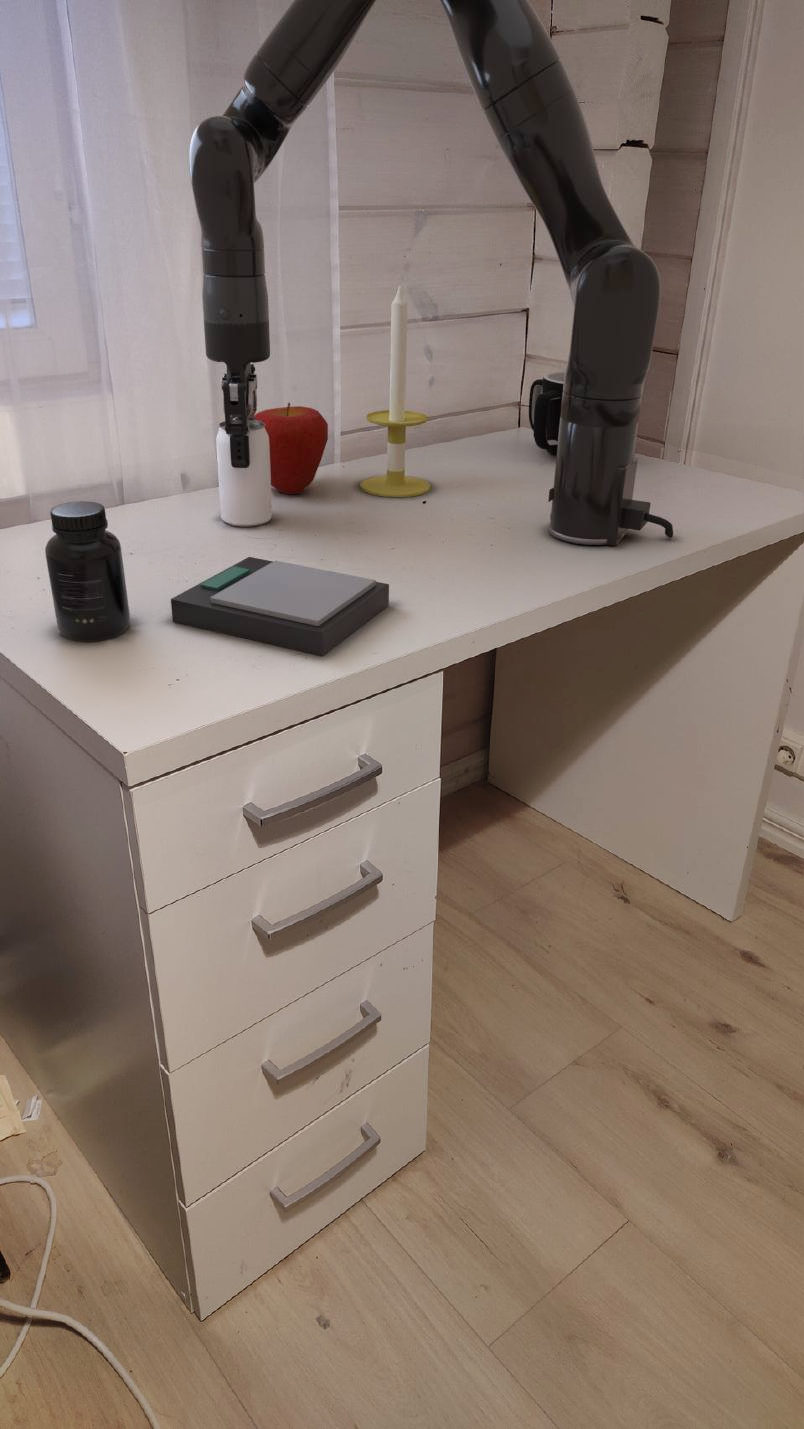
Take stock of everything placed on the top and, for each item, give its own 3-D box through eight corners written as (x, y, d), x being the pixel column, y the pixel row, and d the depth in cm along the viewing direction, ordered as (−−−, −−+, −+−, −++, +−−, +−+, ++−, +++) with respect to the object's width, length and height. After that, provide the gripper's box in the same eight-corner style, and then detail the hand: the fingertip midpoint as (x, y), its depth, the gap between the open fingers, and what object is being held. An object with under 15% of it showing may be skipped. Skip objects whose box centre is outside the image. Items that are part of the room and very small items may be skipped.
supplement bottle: (65, 615, 100) (48, 497, 95) (135, 614, 101) (122, 497, 95) (50, 643, 94) (30, 519, 89) (124, 643, 95) (110, 519, 89)
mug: (520, 463, 157) (527, 383, 151) (526, 439, 170) (532, 366, 165) (627, 470, 154) (638, 390, 149) (624, 446, 168) (634, 371, 163)
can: (262, 529, 125) (258, 432, 120) (213, 525, 126) (207, 428, 121) (278, 514, 131) (275, 420, 125) (231, 510, 132) (226, 417, 126)
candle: (444, 487, 144) (454, 283, 131) (398, 501, 137) (403, 288, 124) (392, 473, 150) (396, 276, 137) (345, 486, 143) (345, 281, 130)
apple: (282, 476, 147) (279, 390, 141) (344, 488, 142) (343, 400, 137) (234, 493, 139) (229, 403, 133) (298, 507, 134) (295, 414, 128)
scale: (388, 605, 105) (389, 578, 103) (322, 656, 93) (322, 626, 92) (250, 577, 111) (248, 551, 109) (172, 621, 100) (169, 593, 98)
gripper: (264, 325, 111) (269, 476, 119) (272, 309, 123) (277, 446, 131) (195, 324, 110) (205, 475, 118) (211, 308, 123) (219, 445, 131)
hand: (243, 459), depth 125 cm, fingers closed on can, 6 cm apart
